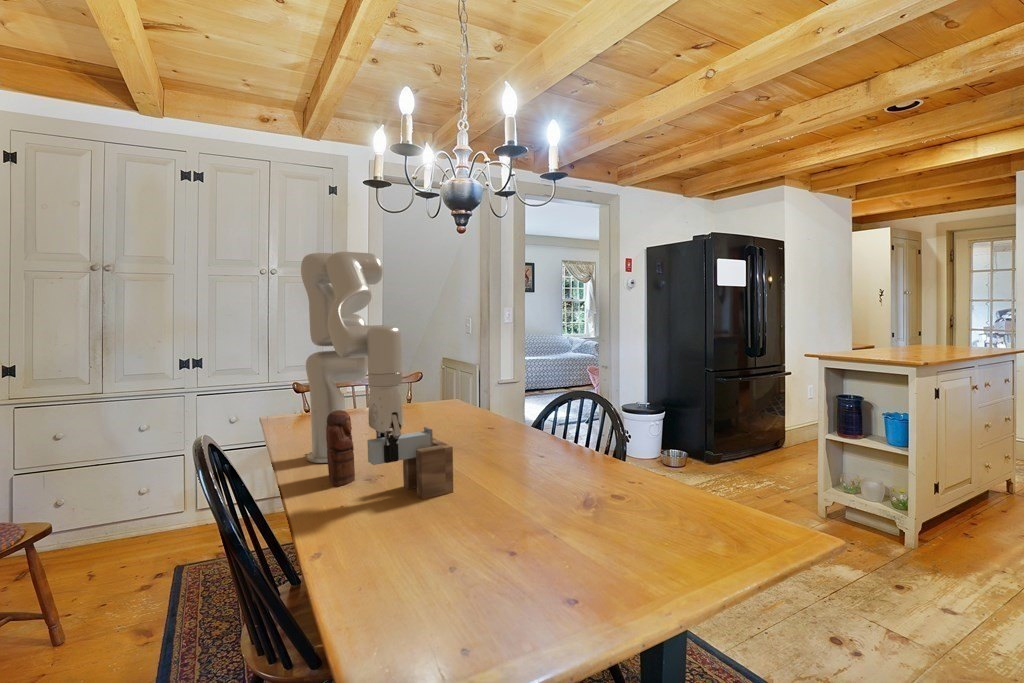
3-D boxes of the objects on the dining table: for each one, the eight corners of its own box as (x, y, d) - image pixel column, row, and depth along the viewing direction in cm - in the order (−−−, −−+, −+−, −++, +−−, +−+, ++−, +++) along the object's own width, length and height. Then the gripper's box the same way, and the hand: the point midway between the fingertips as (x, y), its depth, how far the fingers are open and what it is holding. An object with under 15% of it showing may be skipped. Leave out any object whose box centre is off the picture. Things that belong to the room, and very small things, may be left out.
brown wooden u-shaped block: (403, 486, 127) (402, 442, 127) (433, 479, 132) (432, 437, 131) (422, 499, 118) (421, 452, 118) (453, 492, 123) (452, 446, 122)
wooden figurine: (357, 484, 129) (355, 413, 128) (330, 488, 126) (328, 415, 125) (351, 471, 140) (349, 405, 139) (326, 474, 137) (324, 407, 136)
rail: (368, 461, 118) (367, 435, 117) (426, 451, 126) (426, 426, 126) (373, 465, 115) (372, 438, 114) (433, 454, 123) (432, 429, 123)
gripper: (357, 378, 122) (360, 454, 123) (382, 385, 109) (385, 471, 110) (387, 376, 126) (390, 449, 127) (415, 382, 113) (418, 465, 114)
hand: (387, 458), depth 118 cm, fingers closed on rail, 3 cm apart
